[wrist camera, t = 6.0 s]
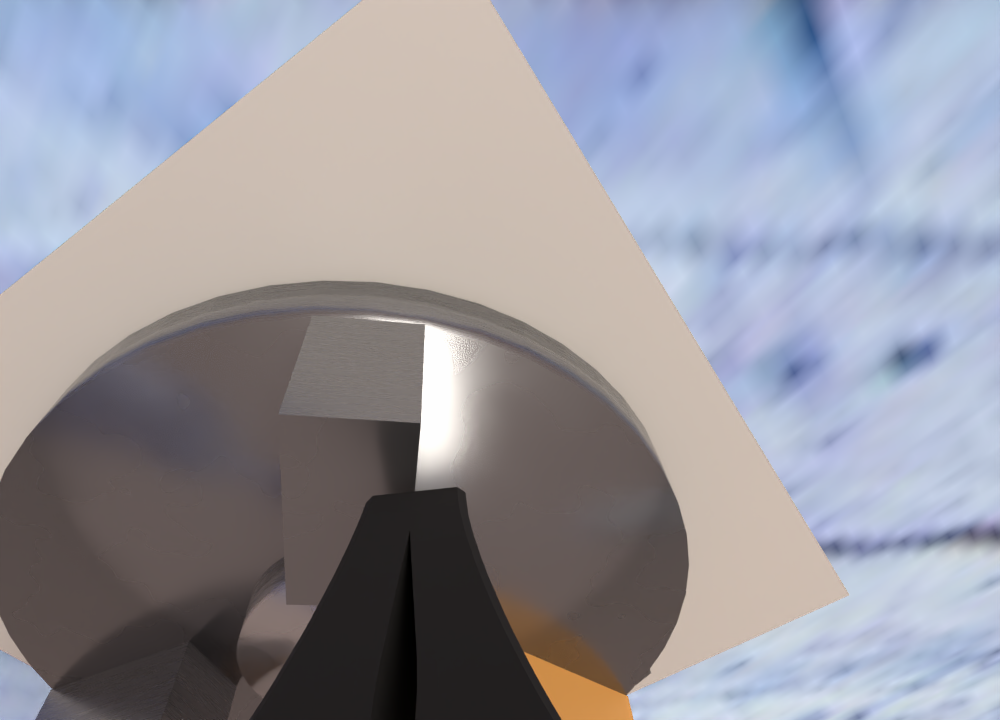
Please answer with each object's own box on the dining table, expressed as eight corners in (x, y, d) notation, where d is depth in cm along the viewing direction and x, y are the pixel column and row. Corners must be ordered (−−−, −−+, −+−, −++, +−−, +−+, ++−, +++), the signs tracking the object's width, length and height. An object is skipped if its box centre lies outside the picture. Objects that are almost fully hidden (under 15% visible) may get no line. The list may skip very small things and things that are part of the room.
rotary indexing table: (600, 739, 23) (633, 904, 19) (88, 737, 21) (6, 923, 17) (753, 315, 15) (866, 450, 11) (-63, 243, 13) (-290, 378, 9)
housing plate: (334, 785, 26) (328, 834, 25) (-209, 464, 17) (-269, 513, 15) (825, 556, 21) (852, 600, 20) (446, -69, 12) (448, -70, 11)
